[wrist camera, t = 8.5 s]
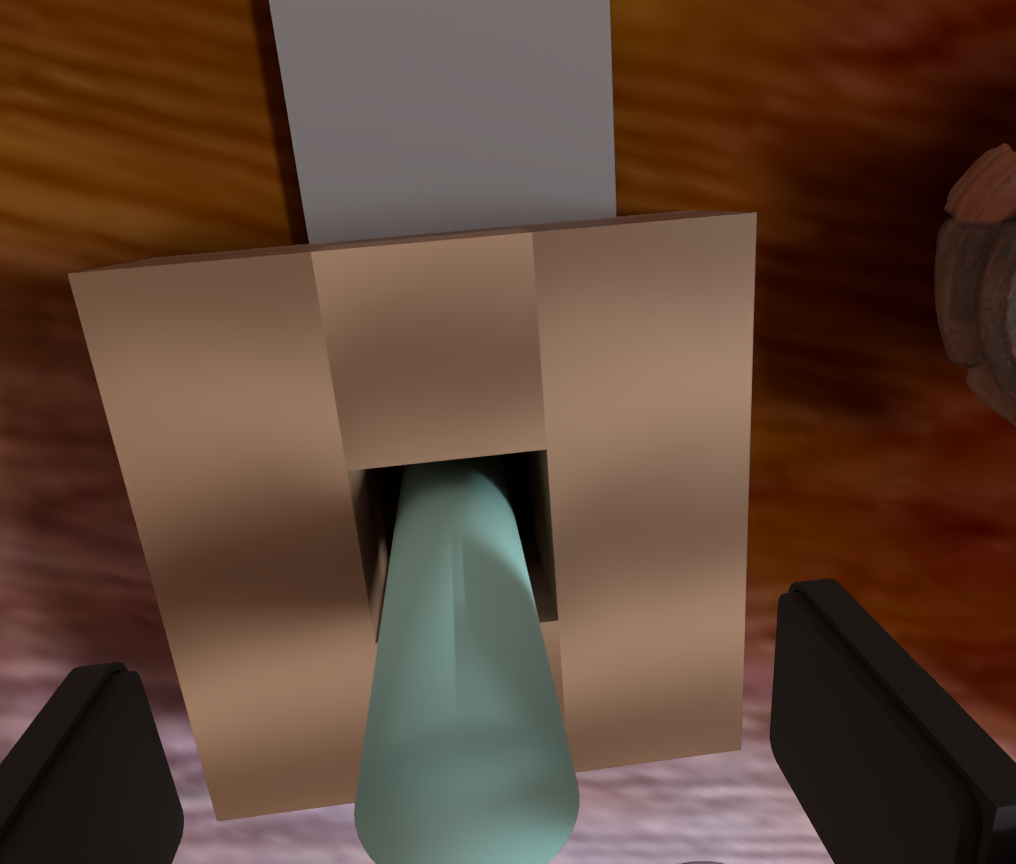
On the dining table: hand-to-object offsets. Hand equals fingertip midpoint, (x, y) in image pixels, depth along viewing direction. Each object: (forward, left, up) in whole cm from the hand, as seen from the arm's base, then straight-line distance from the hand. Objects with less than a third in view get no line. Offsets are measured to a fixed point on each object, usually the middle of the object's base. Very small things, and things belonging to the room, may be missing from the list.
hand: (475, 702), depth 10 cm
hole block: (+1, 0, -11) cm, 11 cm away
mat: (-10, +1, -11) cm, 15 cm away
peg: (+1, 0, -11) cm, 11 cm away
